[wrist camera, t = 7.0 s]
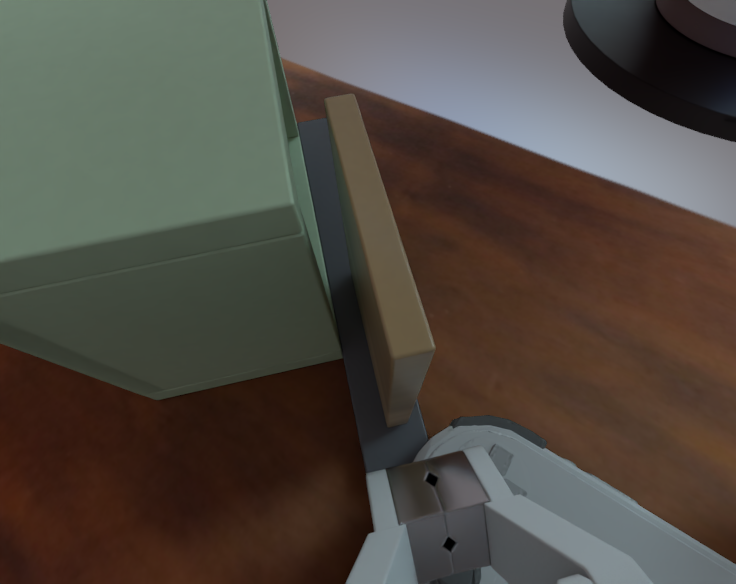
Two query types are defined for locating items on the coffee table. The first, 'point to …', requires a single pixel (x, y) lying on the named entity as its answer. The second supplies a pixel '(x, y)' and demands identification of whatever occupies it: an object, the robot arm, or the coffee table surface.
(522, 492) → the handheld gaming console
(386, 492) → the robot arm
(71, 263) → the green rectangular block
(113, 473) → the coffee table surface
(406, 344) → the sliding door
